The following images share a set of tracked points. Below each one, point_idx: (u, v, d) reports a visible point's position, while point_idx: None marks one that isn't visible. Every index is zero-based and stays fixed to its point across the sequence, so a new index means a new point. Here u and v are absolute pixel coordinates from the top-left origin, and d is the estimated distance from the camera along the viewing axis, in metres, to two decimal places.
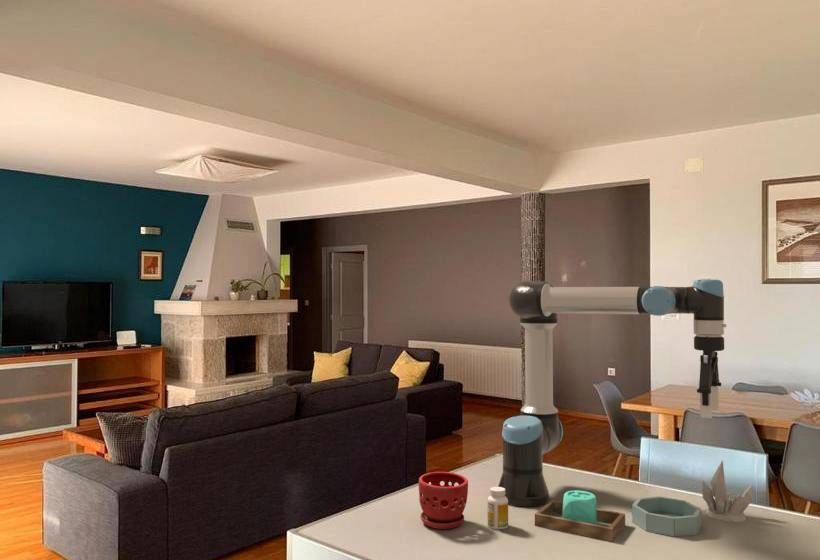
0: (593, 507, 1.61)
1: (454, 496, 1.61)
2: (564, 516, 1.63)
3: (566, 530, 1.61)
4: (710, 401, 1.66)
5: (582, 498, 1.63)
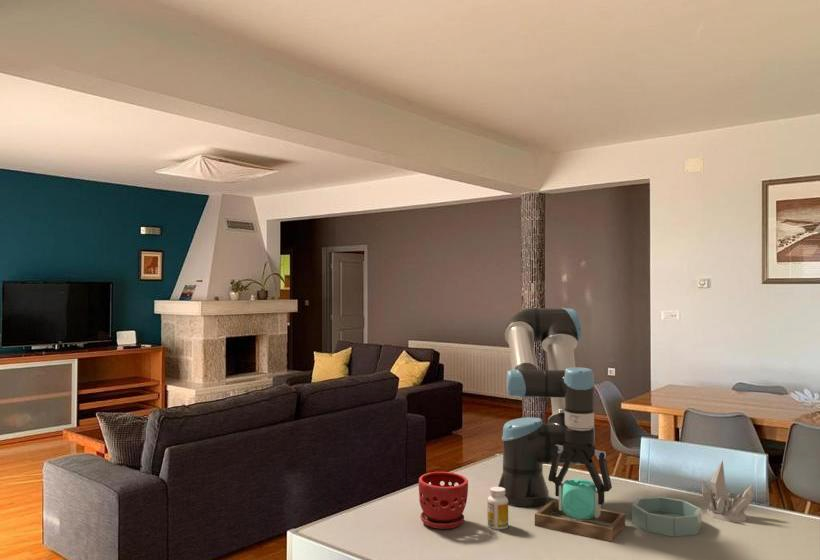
0: (593, 496, 1.62)
1: (454, 496, 1.61)
2: (564, 504, 1.64)
3: (566, 530, 1.61)
4: (559, 493, 1.68)
5: (582, 487, 1.63)
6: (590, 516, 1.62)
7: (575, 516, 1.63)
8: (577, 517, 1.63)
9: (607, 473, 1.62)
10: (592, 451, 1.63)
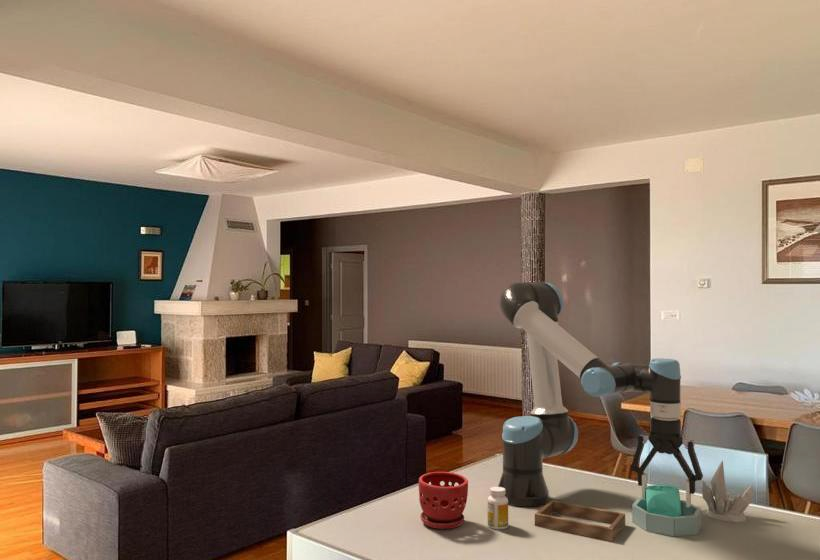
0: (677, 499, 1.62)
1: (454, 496, 1.61)
2: (649, 510, 1.64)
3: (566, 530, 1.61)
4: (642, 482, 1.69)
5: (665, 491, 1.64)
6: None
7: None
8: None
9: (697, 462, 1.62)
10: (680, 441, 1.64)
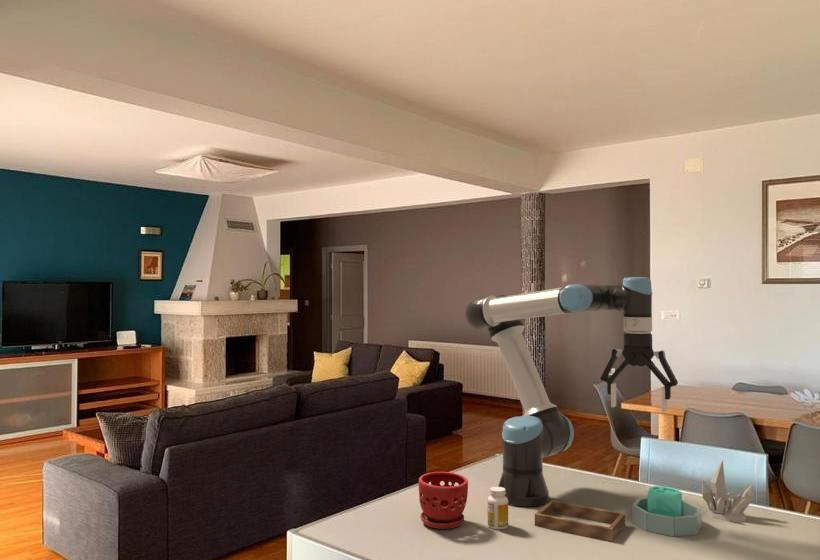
0: (679, 503, 1.62)
1: (454, 496, 1.61)
2: (649, 511, 1.64)
3: (566, 530, 1.61)
4: (611, 391, 1.78)
5: (667, 494, 1.63)
6: None
7: None
8: None
9: (670, 369, 1.71)
10: (651, 352, 1.73)
